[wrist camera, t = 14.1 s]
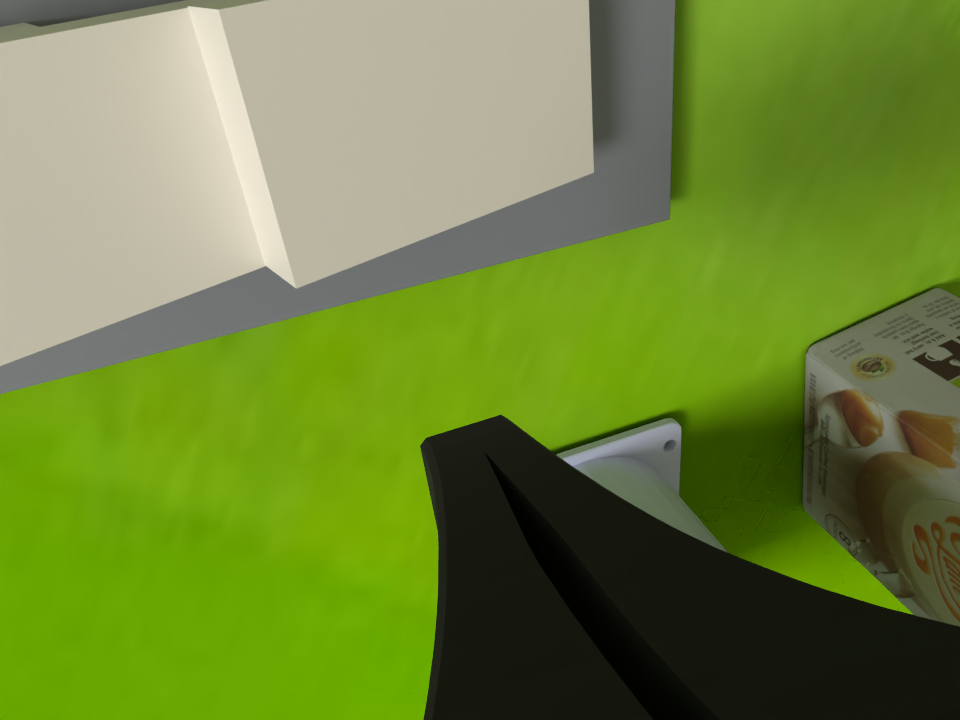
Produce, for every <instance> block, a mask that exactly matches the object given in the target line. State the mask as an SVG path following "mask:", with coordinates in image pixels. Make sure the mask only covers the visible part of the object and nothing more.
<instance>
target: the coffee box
mask: <svg viewBox="0 0 960 720" xmlns="http://www.w3.org/2000/svg"><path fill="white" fill-rule="evenodd" d="M803 509H804V510H805V511H806V512H807V513H808V514H809V515H810V516H811V517H812V518H813V519H814V520H815V521H816V522H818V523H819V524H820V525H821V526H822V527H823V528H824V529H825V530H826V531H827V532H828V533H829V534H830V535H831V536H832V537H833V538H834V539H835V540H836V541H837V542H838V543H839V544H841V545H842V546H843V547H844V548H845V549H846V550H847V551H848V552H849V553H850V554H851V555H852V556H853V557H854V558H855V559H856V560H857V561H859V562H860V563H861V564H862V565H863V566H864V567H865V568H866V569H867V570H868V571H869V572H870V573H871V574H872V575H873V576H874V577H875V578H876V579H878V580H879V581H880V582H881V583H882V584H883V585H884V586H885V587H886V588H887V589H888V590H889V591H890V592H891V593H892V594H893V595H894V596H895V597H896V598H897V599H898V600H899V601H900V602H901V603H902V604H903V605H904V606H906V607H907V608H908V609H909V610H910V611H911V612H912V613H913V614H914V615H915V616H919V617H923V618H927V619H931V620H935V621H939V622H943V623H947V624H951V625H955V626H959V627H960V298H959V297H957V296H955V295H953V294H952V293H950V292H947V291H945V290H943V289H941V288H935V289H932V290H930V291H928V292H926V293H924V294H921V295H919V296H917V297H915V298H913V299H911V300H908V301H906V302H904V303H902V304H900V305H897V306H895V307H893V308H891V309H889V310H887V311H885V312H883V313H880V314H878V315H876V316H874V317H872V318H870V319H868V320H865V321H863V322H861V323H859V324H857V325H855V326H852V327H850V328H848V329H846V330H844V331H842V332H839V333H837V334H835V335H833V336H831V337H828V338H826V339H824V340H822V341H820V342H817V343H815V344H813V345H812V346H811V347H810V348H809V349H808V351H807V353H806V361H805V412H804V458H803Z"/></svg>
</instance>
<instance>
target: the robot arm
mask: <svg viewBox="0 0 960 720" xmlns="http://www.w3.org/2000/svg"><path fill="white" fill-rule="evenodd" d="M681 437H682V429H681V426H680V425H679V423H678V422H677V421H676V420H675V419H673V418H665V419H662V420H659V421H656V422H653V423H650V424H647V425H644V426H641V427H638V428H635V429H632V430H629V431H626V432H623V433H620V434H617V435H613V436H610V437H607V438H604V439H601V440H598V441H595V442H592V443H589V444H586V445H583V446H580V447H577V448H574V449H571V450H568V451H565V452H562V453H559V454H554V453H553V452H551V451H550V450H549V449H547V448H546V447H545V446H543V445H542V444H540V443H539V442H538V441H536V440H535V439H534V438H532V437H531V436H530V435H528V434H527V433H526V432H524V431H523V430H522V429H521V428H519V427H518V426H517V425H515V424H514V423H513V422H511V421H510V420H509V419H507V418H505V417H504V416H502V415H499V416H496V417H492V418H489V419H486V420H483V421H479V422H476V423H473V424H470V425H466V426H463V427H460V428H457V429H453V430H450V431H447V432H444V433H441V434H437V435H434V436H431V437H428V438H426V439H425V440H424V442H423V443H422V444H421V446H420V447H421V452H422V457H423V462H424V467H425V471H426V476H427V481H428V486H429V491H430V496H431V500H432V505H433V510H434V515H435V520H436V524H437V529H438V542H439V561H438V603H437V619H436V630H435V642H434V651H433V659H432V667H431V674H430V682H429V690H428V696H427V703H426V709H425V715H424V720H960V627H959V626H955V625H951V624H947V623H943V622H939V621H935V620H931V619H927V618H923V617H919V616H915V615H911V614H907V613H903V612H899V611H895V610H891V609H887V608H884V607H880V606H877V605H873V604H870V603H867V602H864V601H860V600H857V599H854V598H851V597H848V596H844V595H841V594H838V593H835V592H831V591H828V590H825V589H822V588H819V587H816V586H813V585H810V584H808V583H805V582H802V581H799V580H796V579H793V578H790V577H788V576H785V575H783V574H780V573H778V572H775V571H772V570H770V569H767V568H765V567H762V566H759V565H757V564H754V563H752V562H749V561H746V560H744V559H741V558H739V557H737V556H734V555H732V554H730V553H728V552H727V551H726V549H725V548H724V547H723V546H722V545H721V544H720V543H719V541H718V540H717V539H716V538H715V537H714V536H713V535H712V533H711V532H710V531H709V530H708V529H707V528H706V526H705V525H704V524H703V523H702V522H701V521H700V520H699V518H698V517H697V516H696V515H695V514H694V513H693V511H692V510H691V509H690V508H689V507H688V506H687V505H686V503H685V502H684V501H683V500H682V499H681V498H680V497H679V485H680V461H681ZM667 441H669V442H668V443H667V444H665V443H666V442H667ZM664 444H665V445H664Z"/></svg>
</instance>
